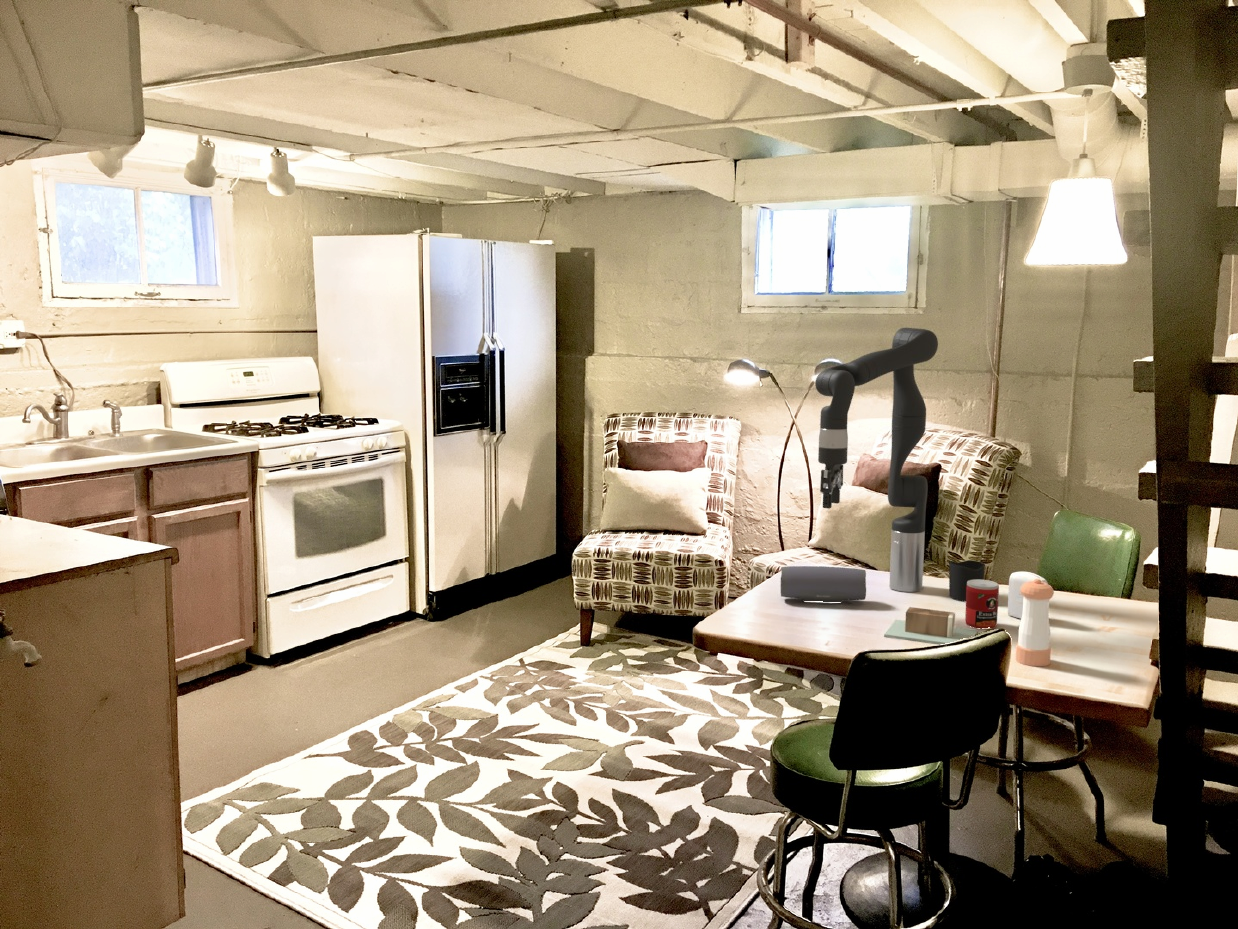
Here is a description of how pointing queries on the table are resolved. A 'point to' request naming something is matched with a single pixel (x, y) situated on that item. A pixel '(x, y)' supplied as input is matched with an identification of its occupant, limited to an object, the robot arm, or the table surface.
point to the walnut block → (930, 622)
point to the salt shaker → (1034, 624)
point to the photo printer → (1014, 591)
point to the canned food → (981, 603)
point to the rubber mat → (899, 632)
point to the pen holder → (963, 577)
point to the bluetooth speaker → (823, 583)
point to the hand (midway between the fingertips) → (831, 505)
